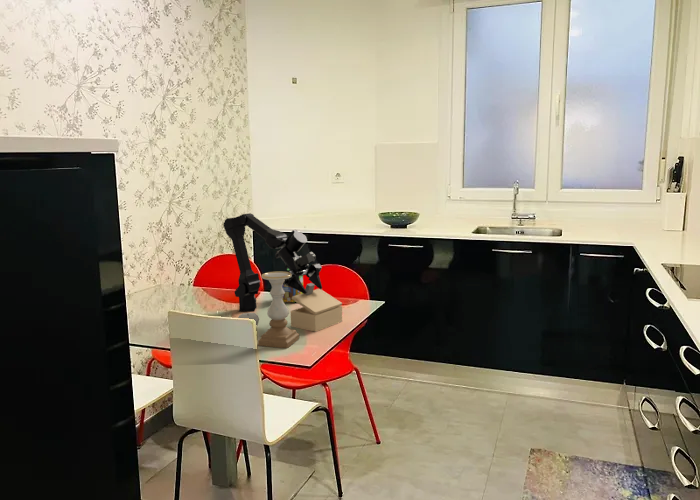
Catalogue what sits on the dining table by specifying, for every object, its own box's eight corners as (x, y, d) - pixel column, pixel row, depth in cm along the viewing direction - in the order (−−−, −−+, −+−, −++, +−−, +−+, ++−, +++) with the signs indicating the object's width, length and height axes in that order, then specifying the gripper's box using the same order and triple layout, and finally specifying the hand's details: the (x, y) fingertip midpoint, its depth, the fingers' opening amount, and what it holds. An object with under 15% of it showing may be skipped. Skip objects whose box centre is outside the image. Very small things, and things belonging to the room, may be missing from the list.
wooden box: (291, 326, 214) (290, 310, 213) (318, 316, 227) (317, 302, 226) (315, 331, 207) (315, 315, 206) (342, 321, 220) (341, 306, 219)
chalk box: (298, 303, 249) (297, 270, 247) (278, 302, 251) (277, 269, 248) (304, 298, 258) (303, 266, 256) (285, 297, 260) (284, 265, 257)
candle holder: (271, 336, 203) (268, 270, 199) (299, 338, 200) (297, 271, 196) (257, 345, 192) (254, 276, 189) (287, 348, 189) (285, 278, 186)
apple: (239, 327, 214) (238, 310, 213) (260, 327, 214) (259, 310, 213) (236, 334, 206) (236, 316, 205) (258, 333, 206) (258, 315, 205)
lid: (291, 298, 212) (294, 287, 210) (318, 290, 225) (322, 279, 223) (314, 314, 206) (318, 302, 204) (341, 305, 219) (345, 294, 217)
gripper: (285, 249, 209) (308, 282, 204) (317, 243, 224) (340, 273, 219) (270, 268, 215) (293, 300, 210) (303, 260, 230) (324, 291, 225)
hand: (313, 290), depth 216 cm, fingers open, 9 cm apart
